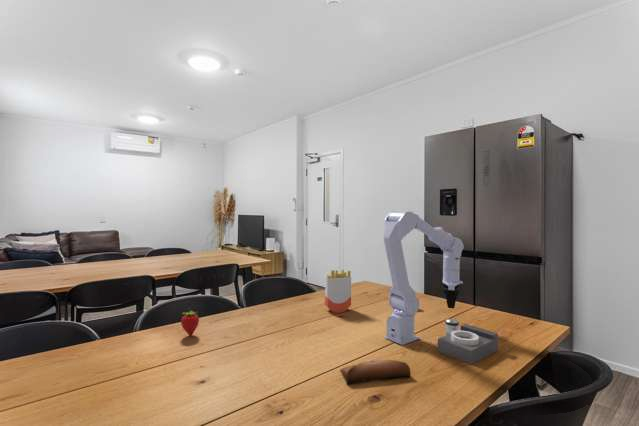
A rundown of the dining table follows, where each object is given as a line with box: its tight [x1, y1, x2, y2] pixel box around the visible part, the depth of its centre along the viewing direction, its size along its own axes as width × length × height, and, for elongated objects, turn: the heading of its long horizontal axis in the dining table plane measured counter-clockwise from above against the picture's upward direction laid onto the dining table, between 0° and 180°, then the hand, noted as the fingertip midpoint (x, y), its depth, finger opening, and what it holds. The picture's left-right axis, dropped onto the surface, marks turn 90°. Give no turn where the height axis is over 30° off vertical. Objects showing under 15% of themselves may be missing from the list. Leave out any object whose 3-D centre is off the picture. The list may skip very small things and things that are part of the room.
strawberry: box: [180, 309, 200, 337], centre depth 119 cm, size 6×8×10 cm
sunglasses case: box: [339, 359, 411, 385], centre depth 92 cm, size 18×7×7 cm
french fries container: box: [324, 269, 352, 313], centre depth 149 cm, size 5×11×18 cm, turn 106°
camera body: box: [437, 323, 499, 365], centre depth 107 cm, size 16×11×6 cm
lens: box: [445, 318, 460, 336], centre depth 121 cm, size 4×4×5 cm
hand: (450, 305), depth 126 cm, fingers open, 7 cm apart
